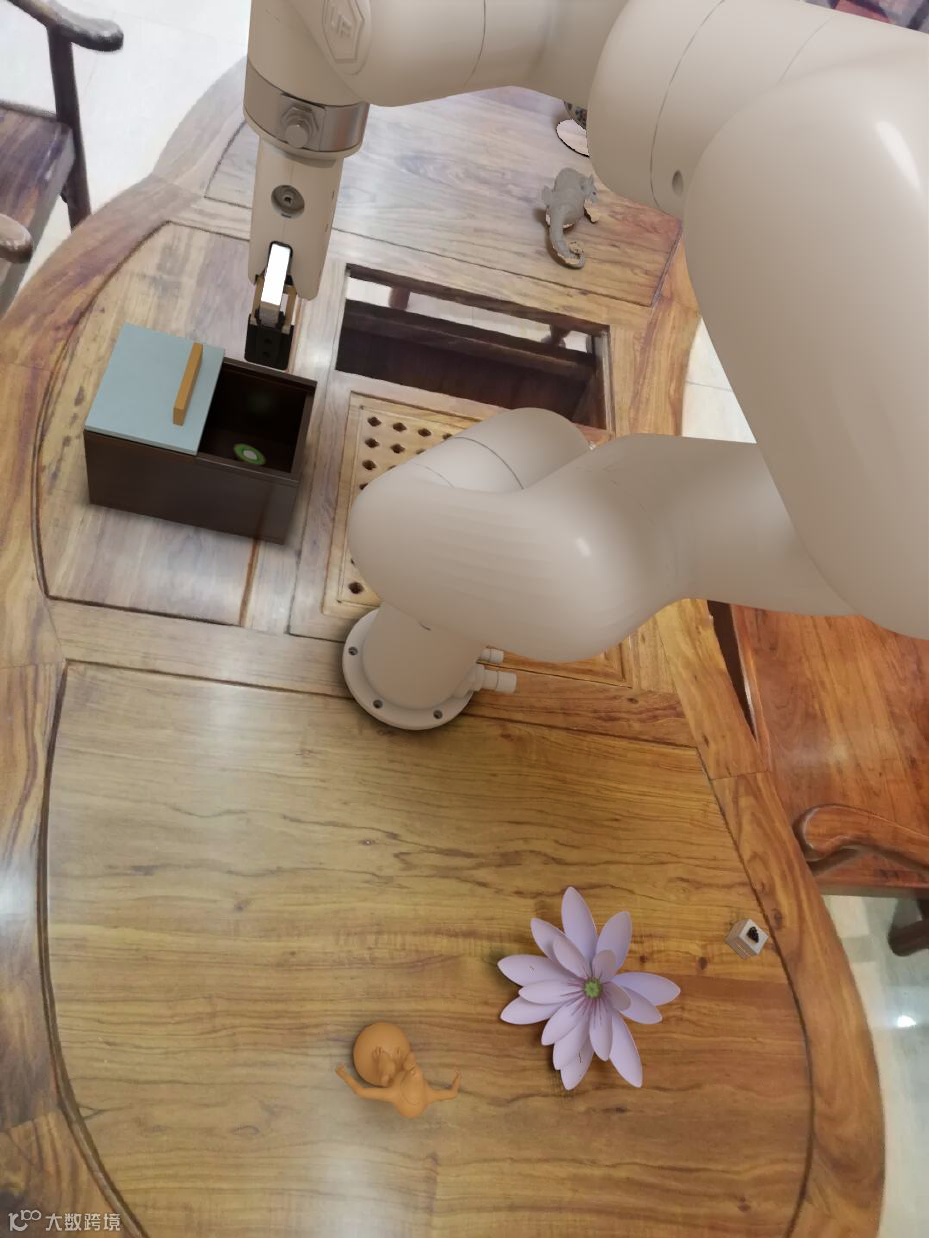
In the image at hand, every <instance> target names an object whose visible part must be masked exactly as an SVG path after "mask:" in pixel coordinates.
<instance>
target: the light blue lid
mask: <svg viewBox="0 0 929 1238" xmlns="http://www.w3.org/2000/svg"><path fill="white" fill-rule="evenodd" d="M225 355H226V348H222V347H220V346H217V345H213V344H208V343H204V342H200V341H197V340H194V339H190V338H186V337H182V336H179V335H175V334H171V333H167V332H164V331H160V330H156V329H153V328H149V327H145V326H141V325H137V324H133V323H130V322H125V321H124V322H123V324H122V327H121V329H120V332H119V334H118V336H117V340H116V342H115V345H114V347H113V350H112V352H111V355H110V358H109V360H108V362H107V365H106V368H105V370H104V373H103V375H102V378H101V381H100V384H99V386H98V387H97V388H98V389H97V391H96V393H95V396H94V399H93V402H92V404H91V406H90V408H89V409H90V410H89V412H88V414H87V417H86V419H85V422H84V428H85V429H86V430H90V431H94V432H98V433H103V434H107V435H111V436H115V437H120V438H124V439H128V440H132V441H137V442H141V443H145V444H149V445H154V446H158V447H162V448H166V449H171V450H175V451H179V452H183V453H187V454H192V455H196V454H197V451H198V447H199V444H200V440H201V437H202V433H203V430H204V426H205V422H206V419H207V415H208V412H209V408H210V405H211V401H212V398H213V394H214V390H215V387H216V383H217V380H218V376H219V373H220V369H221V365H222V362H223V358H224V357H225Z"/></svg>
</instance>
